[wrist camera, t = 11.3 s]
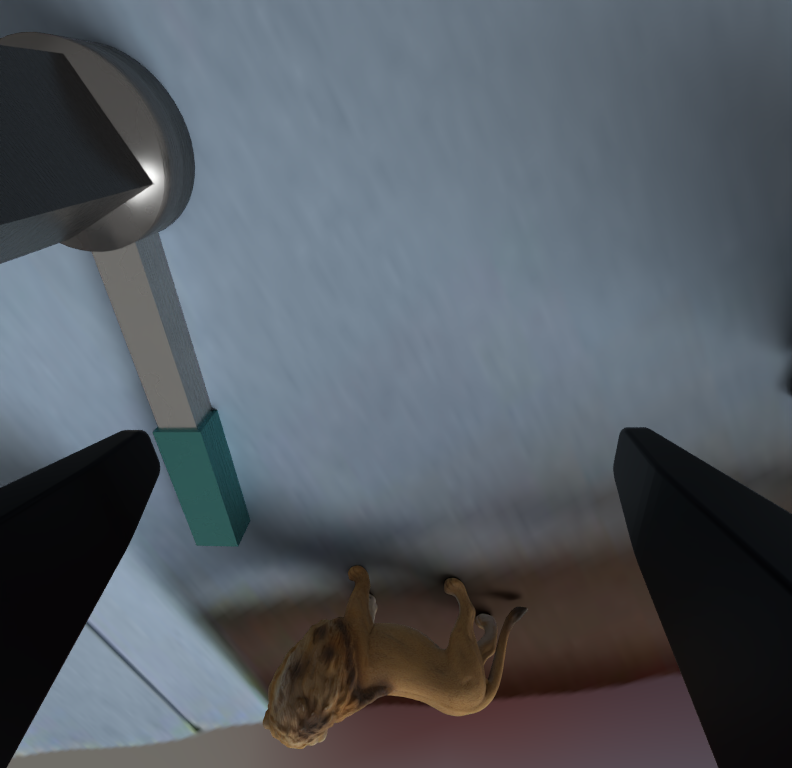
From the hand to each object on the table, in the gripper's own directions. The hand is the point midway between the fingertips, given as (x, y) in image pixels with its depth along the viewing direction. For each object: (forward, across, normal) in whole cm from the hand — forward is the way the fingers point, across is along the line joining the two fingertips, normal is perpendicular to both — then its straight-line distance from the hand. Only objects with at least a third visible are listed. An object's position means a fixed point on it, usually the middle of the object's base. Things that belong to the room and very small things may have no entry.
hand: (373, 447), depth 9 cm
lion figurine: (+13, +2, +22) cm, 26 cm away
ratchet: (+13, +12, +3) cm, 18 cm away
